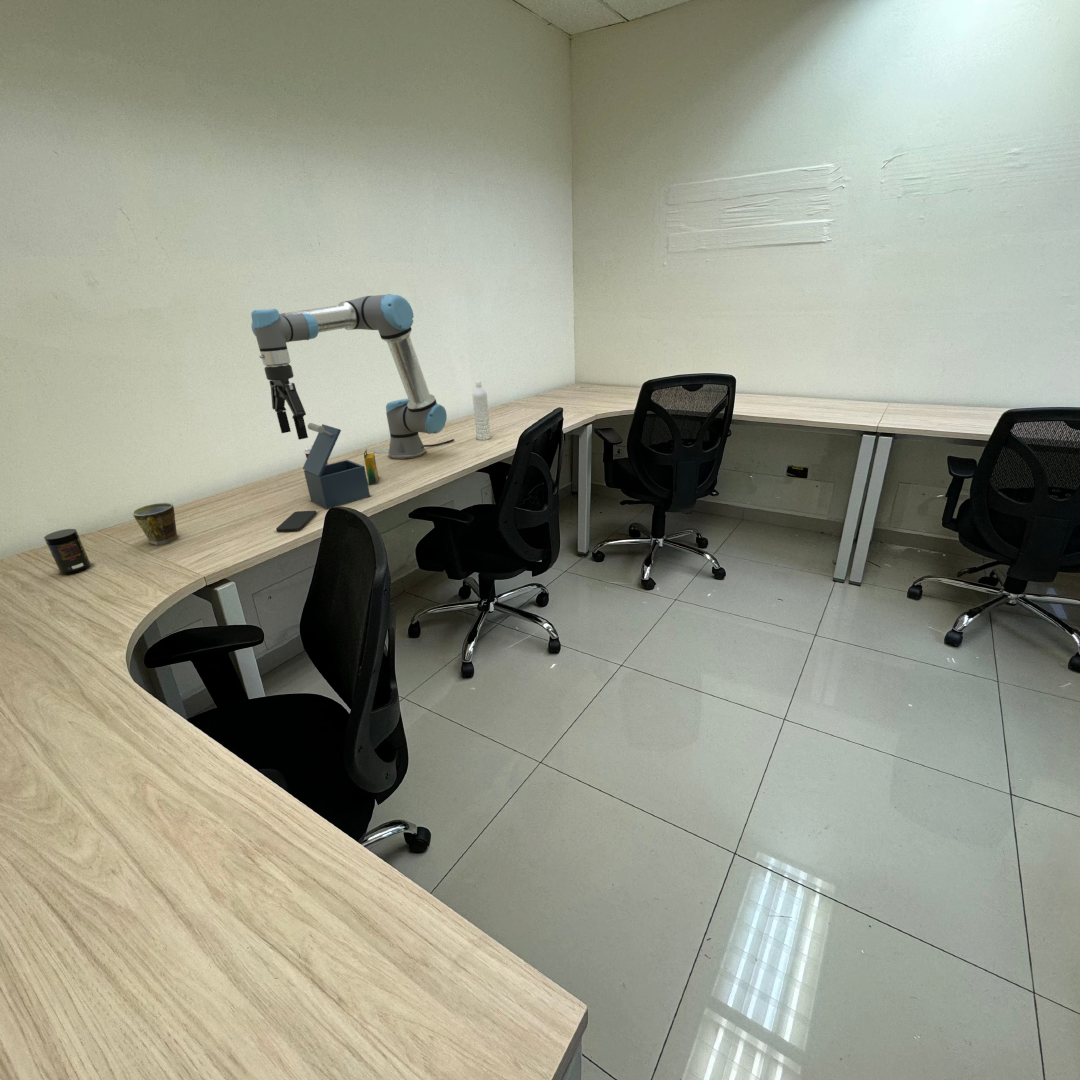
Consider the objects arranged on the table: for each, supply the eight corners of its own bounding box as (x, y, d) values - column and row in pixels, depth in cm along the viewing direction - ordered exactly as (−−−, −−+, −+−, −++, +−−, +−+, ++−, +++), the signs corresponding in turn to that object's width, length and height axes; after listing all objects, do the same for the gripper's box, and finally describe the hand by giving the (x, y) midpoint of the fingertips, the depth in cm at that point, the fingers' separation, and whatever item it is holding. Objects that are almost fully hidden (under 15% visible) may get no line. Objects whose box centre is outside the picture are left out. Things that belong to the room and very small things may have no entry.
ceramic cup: (148, 537, 166) (136, 506, 162) (186, 530, 169) (175, 500, 165) (139, 554, 155) (126, 521, 151) (179, 546, 158) (168, 514, 154)
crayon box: (376, 483, 202) (371, 453, 197) (368, 484, 202) (362, 453, 197) (378, 477, 209) (373, 447, 204) (370, 478, 209) (365, 448, 204)
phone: (317, 510, 178) (299, 528, 164) (318, 512, 178) (299, 530, 164) (294, 511, 178) (274, 529, 164) (295, 513, 178) (275, 532, 164)
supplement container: (84, 561, 152) (69, 527, 148) (96, 566, 149) (81, 531, 145) (55, 572, 147) (38, 536, 143) (67, 577, 144) (51, 541, 139)
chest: (353, 488, 199) (347, 459, 194) (370, 496, 190) (364, 466, 186) (310, 500, 189) (303, 470, 184) (326, 509, 181) (319, 477, 176)
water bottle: (491, 439, 254) (486, 383, 243) (476, 440, 253) (471, 384, 243) (490, 435, 262) (485, 381, 251) (476, 436, 261) (471, 382, 251)
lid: (324, 425, 185) (308, 417, 181) (341, 430, 177) (324, 421, 172) (304, 469, 185) (287, 462, 180) (320, 476, 176) (303, 469, 172)
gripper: (250, 364, 170) (268, 432, 179) (280, 369, 154) (298, 444, 163) (274, 361, 175) (290, 427, 184) (306, 366, 158) (323, 438, 167)
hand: (294, 435), depth 173 cm, fingers open, 13 cm apart
